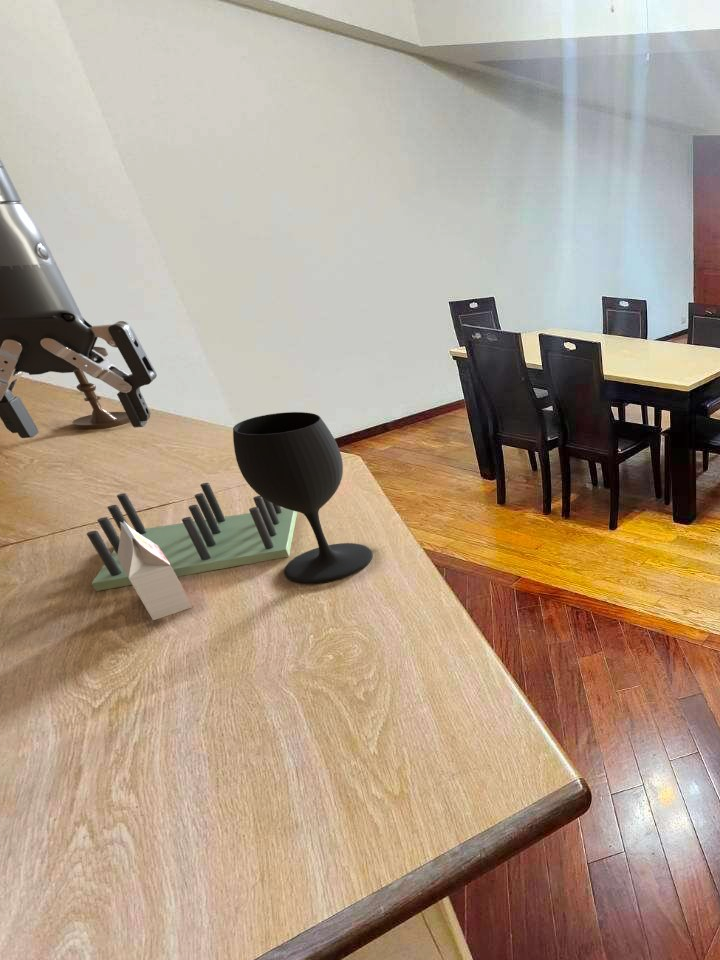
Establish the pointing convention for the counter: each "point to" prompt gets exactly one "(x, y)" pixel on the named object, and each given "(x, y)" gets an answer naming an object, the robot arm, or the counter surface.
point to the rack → (200, 538)
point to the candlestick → (96, 405)
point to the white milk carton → (151, 574)
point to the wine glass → (299, 485)
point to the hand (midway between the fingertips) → (87, 430)
